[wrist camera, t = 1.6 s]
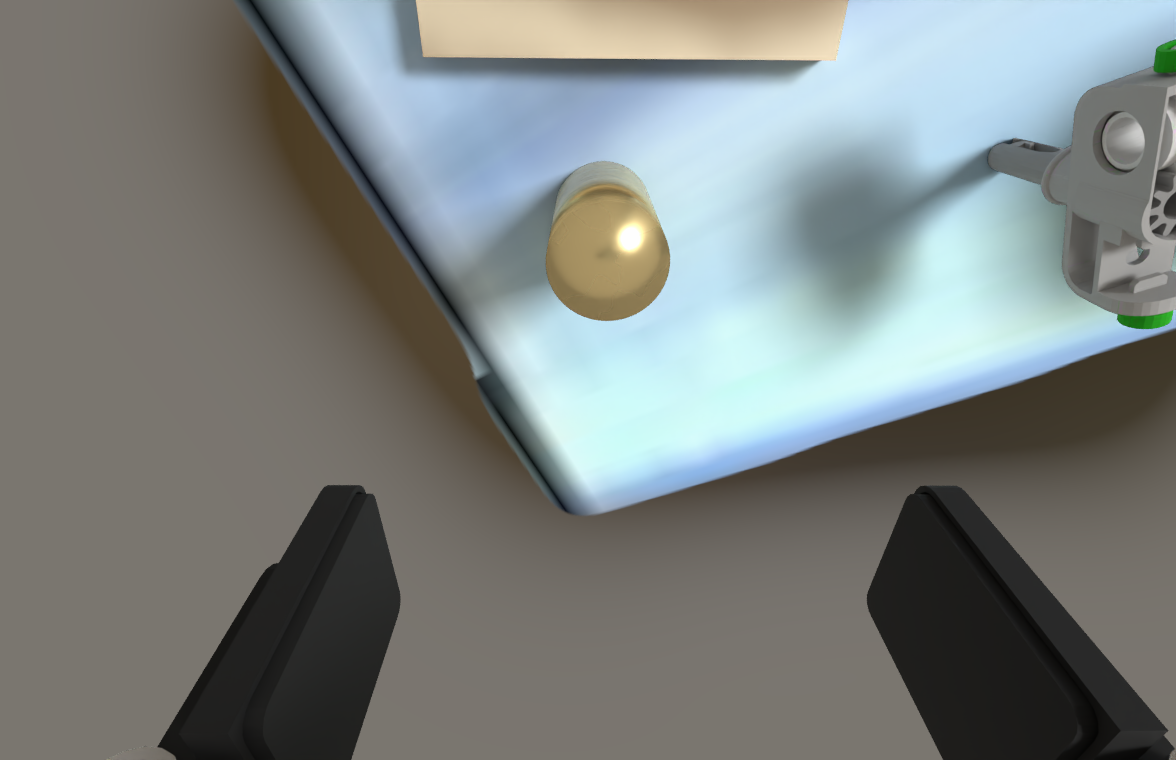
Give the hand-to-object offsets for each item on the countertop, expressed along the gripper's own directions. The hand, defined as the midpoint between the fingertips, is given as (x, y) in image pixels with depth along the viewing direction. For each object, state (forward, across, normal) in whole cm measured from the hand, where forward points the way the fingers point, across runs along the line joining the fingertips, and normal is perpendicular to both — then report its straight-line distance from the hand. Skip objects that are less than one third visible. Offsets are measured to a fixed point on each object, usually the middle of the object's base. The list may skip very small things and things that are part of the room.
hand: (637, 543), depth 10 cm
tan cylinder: (+22, 0, 0) cm, 23 cm away
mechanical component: (+23, -20, -3) cm, 30 cm away
